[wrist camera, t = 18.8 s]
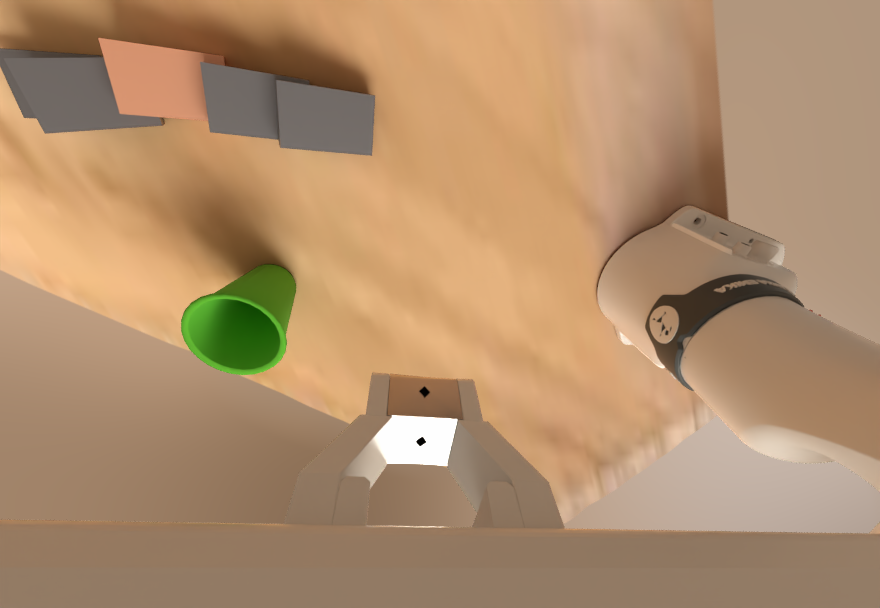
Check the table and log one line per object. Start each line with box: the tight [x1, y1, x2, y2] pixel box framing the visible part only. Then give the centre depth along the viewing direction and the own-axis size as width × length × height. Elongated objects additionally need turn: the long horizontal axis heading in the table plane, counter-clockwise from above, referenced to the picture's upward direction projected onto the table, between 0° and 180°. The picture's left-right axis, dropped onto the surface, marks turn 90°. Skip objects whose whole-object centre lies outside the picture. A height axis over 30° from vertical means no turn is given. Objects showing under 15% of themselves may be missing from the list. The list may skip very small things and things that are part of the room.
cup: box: [181, 264, 296, 375], centre depth 38 cm, size 9×9×11 cm
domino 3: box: [98, 38, 225, 121], centre depth 30 cm, size 2×5×8 cm
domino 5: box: [275, 79, 375, 156], centre depth 32 cm, size 2×5×8 cm
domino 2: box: [3, 57, 165, 133], centre depth 30 cm, size 2×5×8 cm
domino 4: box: [200, 62, 309, 140], centre depth 32 cm, size 2×5×8 cm
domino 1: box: [0, 49, 103, 118], centre depth 32 cm, size 2×5×8 cm
